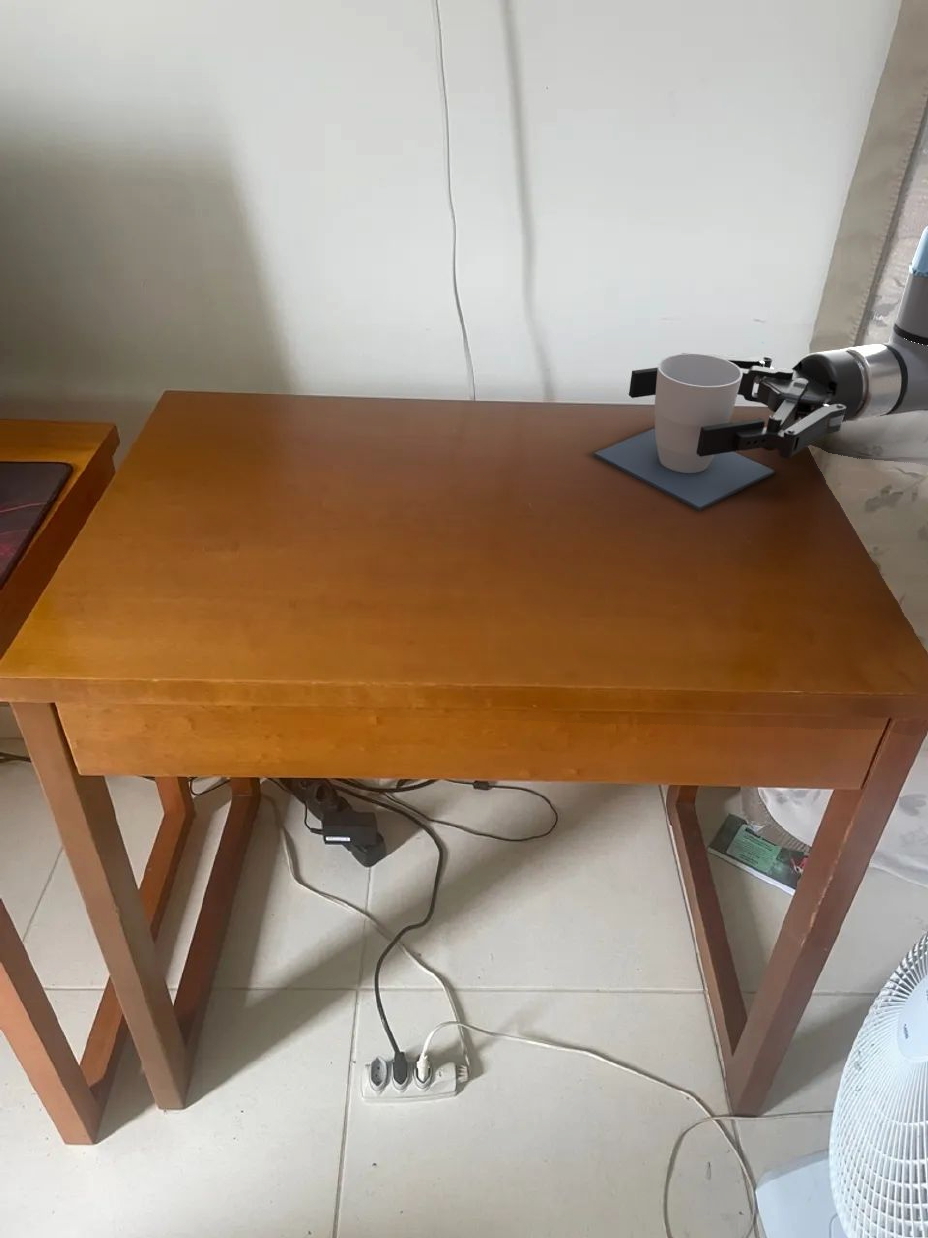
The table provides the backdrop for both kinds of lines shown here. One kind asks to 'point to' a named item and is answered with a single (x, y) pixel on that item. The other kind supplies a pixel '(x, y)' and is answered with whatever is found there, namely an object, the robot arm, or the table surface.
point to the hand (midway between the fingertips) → (664, 411)
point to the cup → (691, 406)
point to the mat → (690, 488)
